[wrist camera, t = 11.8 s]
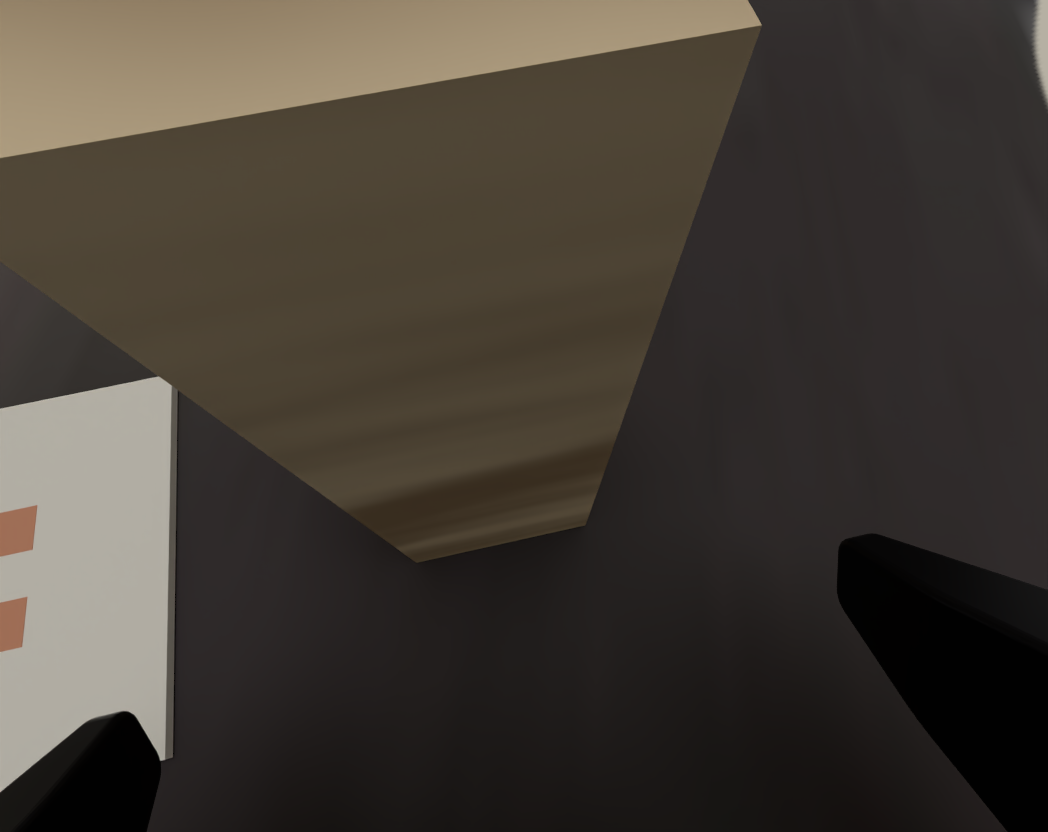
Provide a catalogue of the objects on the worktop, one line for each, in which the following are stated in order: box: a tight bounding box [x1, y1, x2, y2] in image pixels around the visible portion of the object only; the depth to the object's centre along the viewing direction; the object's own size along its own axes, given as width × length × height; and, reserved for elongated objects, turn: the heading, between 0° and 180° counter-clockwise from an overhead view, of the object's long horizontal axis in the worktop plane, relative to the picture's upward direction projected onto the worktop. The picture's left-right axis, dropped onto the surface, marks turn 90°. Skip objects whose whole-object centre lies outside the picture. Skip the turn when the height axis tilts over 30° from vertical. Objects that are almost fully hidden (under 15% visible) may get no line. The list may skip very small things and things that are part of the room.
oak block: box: [0, 0, 762, 563], centre depth 10 cm, size 4×4×13 cm
